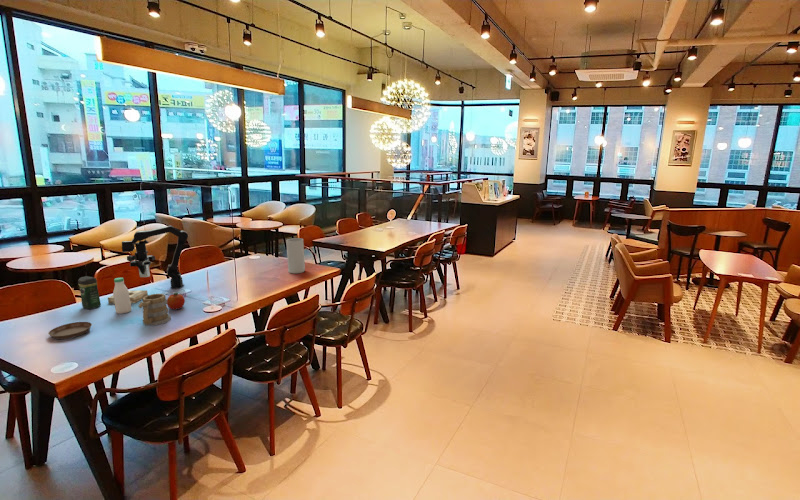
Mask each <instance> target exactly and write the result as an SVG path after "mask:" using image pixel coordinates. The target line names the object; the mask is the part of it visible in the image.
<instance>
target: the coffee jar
mask: <svg viewBox="0 0 800 500" xmlns="http://www.w3.org/2000/svg"><path fill="white" fill-rule="evenodd" d="M77 285H78V287H79V292H80V299H81V307H82V308H83V309H86V310H90V309H97V308H99V307H101V299H100V293H99V288H98V279H97V277H93V276H88V275H86V276H81V277H79V279H78V280H77Z"/></svg>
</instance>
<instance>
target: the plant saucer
mask: <svg viewBox="0 0 800 500" xmlns="http://www.w3.org/2000/svg"><path fill="white" fill-rule="evenodd" d="M92 325H93V323H91V321H90V322H89V321H75V322H71V323H65V324H62V325H59V326H56V327H54V328H52V329H51V330H49V331H48V336H49V337H51V338H53V339H55V340H68V339H74V338H77V337H80V336H82V335H85V334H86V333H88V331H89V330H90V329H91V328H92Z"/></svg>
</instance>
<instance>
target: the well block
mask: <svg viewBox="0 0 800 500" xmlns="http://www.w3.org/2000/svg"><path fill="white" fill-rule="evenodd" d="M128 291H129V296H130V302H131V304H136V303H137V302H139V301H141V300H143V299H142V298H143V297H145V296H148V295H149V294H148V290H145V289H144V290H143V289H142V290H128ZM107 301H108V304H114V297H113V294H112V295H110V296H109V297H107Z"/></svg>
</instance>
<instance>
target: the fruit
mask: <svg viewBox="0 0 800 500" xmlns="http://www.w3.org/2000/svg"><path fill="white" fill-rule="evenodd" d="M166 299H167V303H168V304H166V305H167V308H168V309H171V310H180V309H181V308H183V307H184V305H185V303H186V300H185V297H184V296H183V295H182V294H180V293H178V292H174V293H172V294H170V295H169V296H168V297H167V298H166Z"/></svg>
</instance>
